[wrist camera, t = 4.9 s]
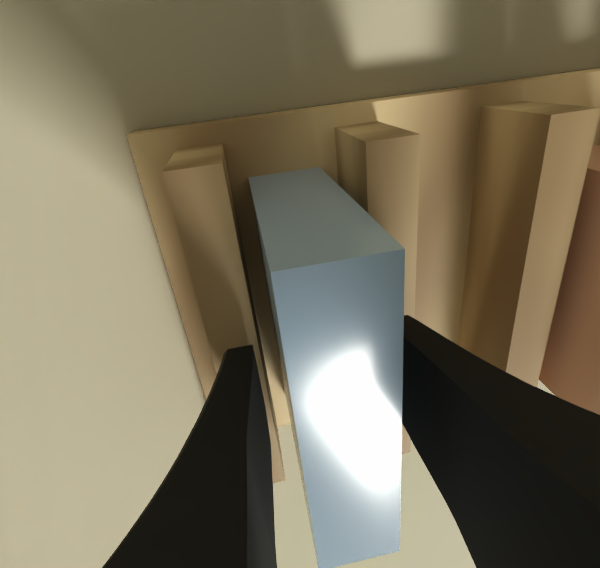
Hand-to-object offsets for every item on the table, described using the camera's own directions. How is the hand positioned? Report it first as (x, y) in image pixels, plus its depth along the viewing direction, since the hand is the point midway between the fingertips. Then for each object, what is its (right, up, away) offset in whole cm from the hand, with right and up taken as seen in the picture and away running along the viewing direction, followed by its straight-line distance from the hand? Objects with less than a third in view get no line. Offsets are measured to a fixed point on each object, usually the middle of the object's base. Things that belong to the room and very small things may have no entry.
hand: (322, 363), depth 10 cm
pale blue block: (-1, +2, +3) cm, 3 cm away
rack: (+3, +3, +4) cm, 6 cm away
